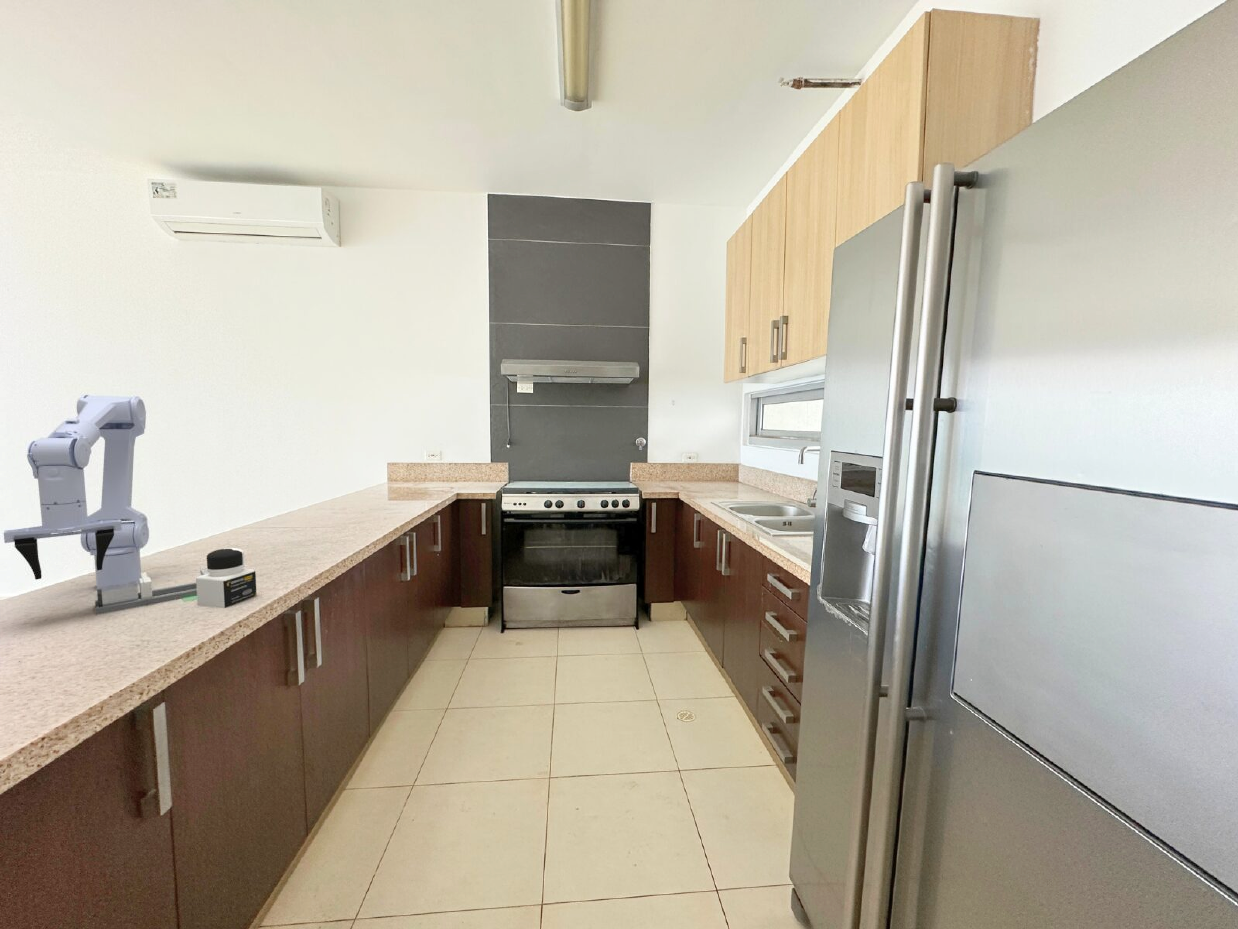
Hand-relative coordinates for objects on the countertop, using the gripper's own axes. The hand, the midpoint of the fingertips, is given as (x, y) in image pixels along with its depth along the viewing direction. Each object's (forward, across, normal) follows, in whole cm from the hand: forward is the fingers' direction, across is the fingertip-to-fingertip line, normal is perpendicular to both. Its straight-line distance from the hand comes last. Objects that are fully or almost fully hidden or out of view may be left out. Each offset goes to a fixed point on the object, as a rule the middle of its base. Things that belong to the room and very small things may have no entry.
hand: (69, 573), depth 93 cm
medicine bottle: (+10, +22, -9) cm, 26 cm away
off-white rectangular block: (+9, +10, +2) cm, 13 cm away
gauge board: (+10, +12, +2) cm, 16 cm away
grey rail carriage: (+9, +6, +2) cm, 11 cm away
